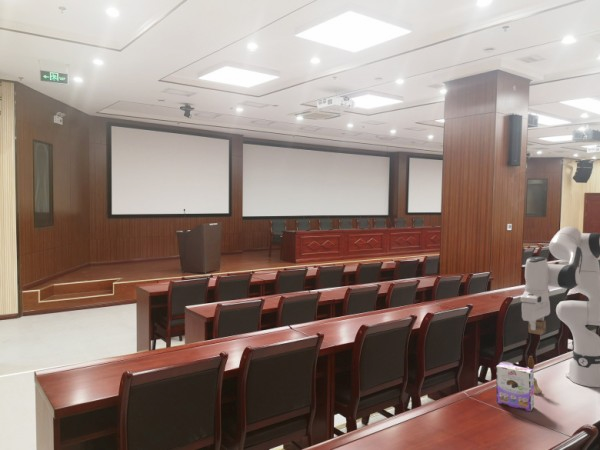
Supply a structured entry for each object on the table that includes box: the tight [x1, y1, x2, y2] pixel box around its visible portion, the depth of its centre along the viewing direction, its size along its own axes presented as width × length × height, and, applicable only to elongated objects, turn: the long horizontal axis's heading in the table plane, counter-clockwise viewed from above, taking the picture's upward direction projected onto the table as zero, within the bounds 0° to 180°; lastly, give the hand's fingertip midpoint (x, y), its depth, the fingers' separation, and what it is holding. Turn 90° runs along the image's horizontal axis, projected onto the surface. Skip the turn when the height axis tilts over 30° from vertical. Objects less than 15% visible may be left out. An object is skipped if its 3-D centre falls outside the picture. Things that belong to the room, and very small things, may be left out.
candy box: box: [495, 362, 535, 412], centre depth 186 cm, size 14×6×16 cm, turn 47°
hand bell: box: [527, 355, 542, 395], centre depth 201 cm, size 8×8×16 cm
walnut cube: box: [527, 319, 547, 336], centre depth 182 cm, size 5×5×5 cm
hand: (536, 328), depth 182 cm, fingers closed on walnut cube, 5 cm apart
